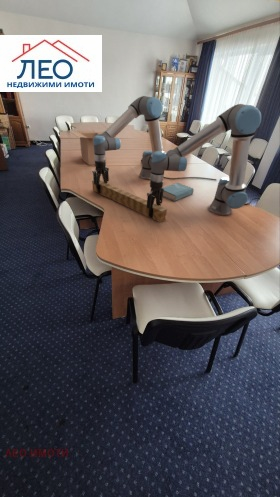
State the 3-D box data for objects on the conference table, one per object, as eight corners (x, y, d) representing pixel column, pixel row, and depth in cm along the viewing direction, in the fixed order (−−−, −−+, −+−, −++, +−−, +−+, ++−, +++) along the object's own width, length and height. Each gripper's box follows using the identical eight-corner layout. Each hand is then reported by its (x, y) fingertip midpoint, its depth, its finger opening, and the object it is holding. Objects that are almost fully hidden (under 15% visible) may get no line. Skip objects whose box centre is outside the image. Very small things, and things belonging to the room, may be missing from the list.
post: (92, 190, 172) (92, 180, 167) (98, 188, 175) (97, 179, 170) (160, 222, 137) (161, 211, 133) (165, 219, 140) (166, 208, 136)
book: (176, 188, 187) (177, 182, 184) (192, 194, 178) (193, 188, 175) (159, 194, 174) (160, 188, 171) (175, 201, 165) (176, 195, 162)
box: (116, 165, 229) (116, 136, 213) (83, 168, 214) (80, 137, 198) (102, 154, 259) (101, 128, 243) (71, 156, 244) (68, 129, 228)
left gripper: (93, 164, 147) (95, 196, 161) (113, 159, 159) (114, 190, 173) (86, 161, 151) (89, 193, 165) (106, 157, 162) (107, 187, 176)
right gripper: (151, 186, 121) (148, 222, 135) (171, 178, 132) (166, 213, 146) (141, 182, 125) (139, 218, 139) (161, 175, 136) (157, 209, 150)
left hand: (102, 191), depth 169 cm, fingers closed on post, 5 cm apart
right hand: (153, 215), depth 143 cm, fingers closed on post, 5 cm apart
